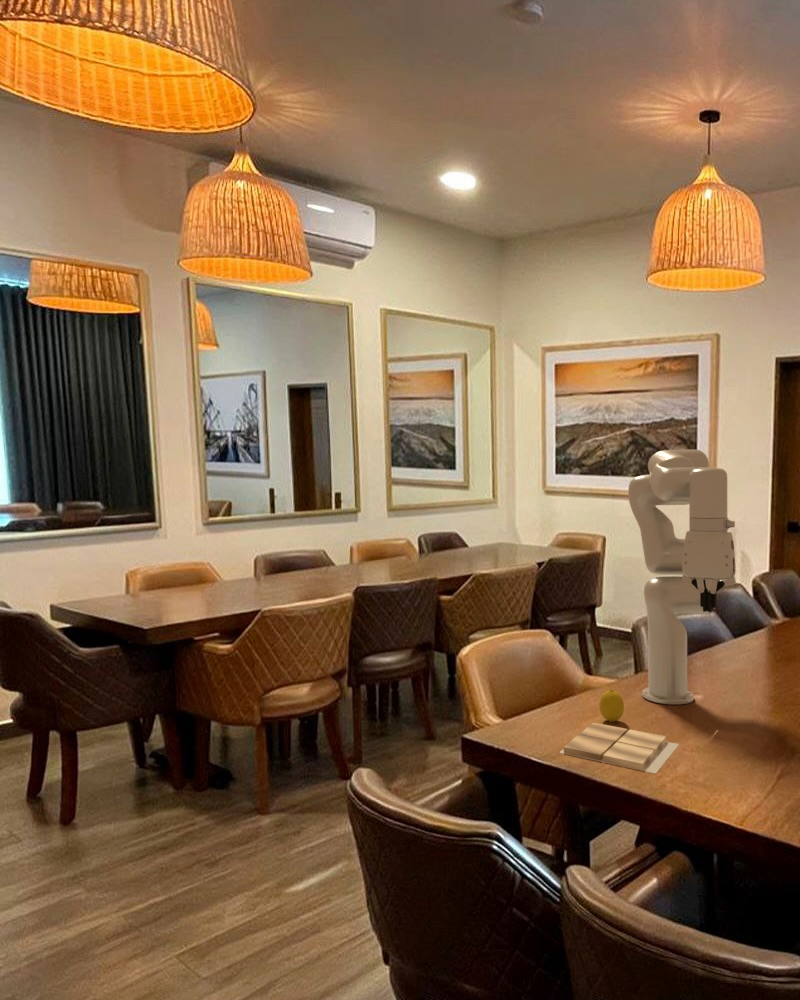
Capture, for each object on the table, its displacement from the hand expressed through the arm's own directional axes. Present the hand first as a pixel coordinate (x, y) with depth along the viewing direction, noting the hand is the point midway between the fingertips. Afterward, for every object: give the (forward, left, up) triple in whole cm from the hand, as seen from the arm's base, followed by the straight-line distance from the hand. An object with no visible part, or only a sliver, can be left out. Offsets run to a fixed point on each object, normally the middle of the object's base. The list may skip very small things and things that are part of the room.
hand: (708, 610), depth 157 cm
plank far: (+9, -12, -29) cm, 32 cm away
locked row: (+13, -20, -29) cm, 38 cm away
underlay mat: (+14, -15, -29) cm, 35 cm away
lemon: (-2, -22, -29) cm, 37 cm away
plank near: (+18, -12, -29) cm, 36 cm away
